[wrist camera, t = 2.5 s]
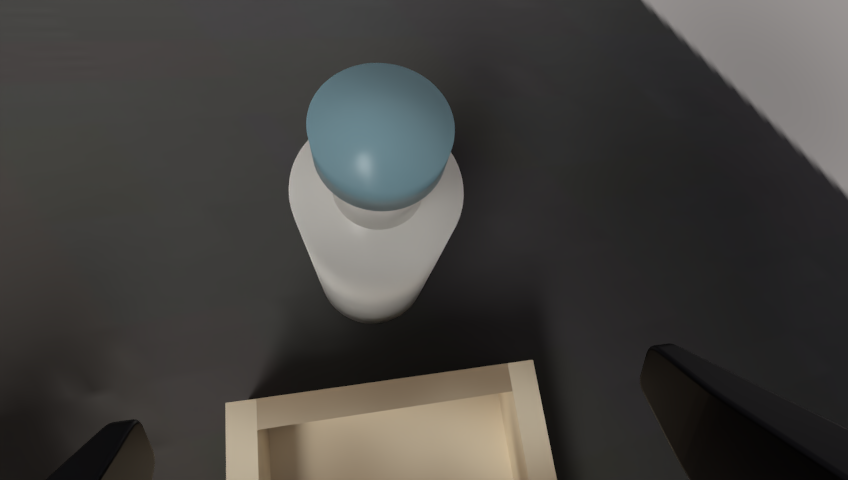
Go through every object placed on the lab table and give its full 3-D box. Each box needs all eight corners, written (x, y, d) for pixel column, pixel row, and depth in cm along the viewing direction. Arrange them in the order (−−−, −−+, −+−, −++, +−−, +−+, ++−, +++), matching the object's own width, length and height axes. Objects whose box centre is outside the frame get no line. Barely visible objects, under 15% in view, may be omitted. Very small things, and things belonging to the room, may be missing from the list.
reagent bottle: (440, 251, 21) (524, 91, 10) (395, 342, 20) (434, 272, 8) (352, 207, 21) (337, 0, 10) (300, 293, 20) (216, 162, 9)
